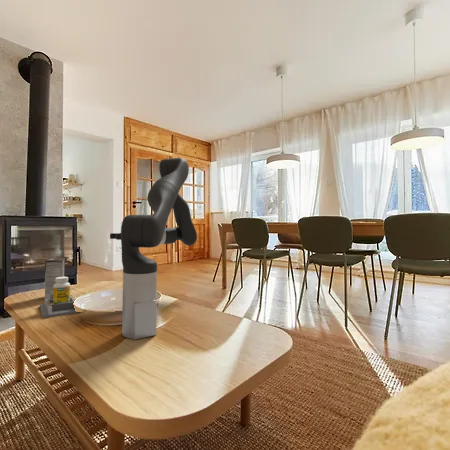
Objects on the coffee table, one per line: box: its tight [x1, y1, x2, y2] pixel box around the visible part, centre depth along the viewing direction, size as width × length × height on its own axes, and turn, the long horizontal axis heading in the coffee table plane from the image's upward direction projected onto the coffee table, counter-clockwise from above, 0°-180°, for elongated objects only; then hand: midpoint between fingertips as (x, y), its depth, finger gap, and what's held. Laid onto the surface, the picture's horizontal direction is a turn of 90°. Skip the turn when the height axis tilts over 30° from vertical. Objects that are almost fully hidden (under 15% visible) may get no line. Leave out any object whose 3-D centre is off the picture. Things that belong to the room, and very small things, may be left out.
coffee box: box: [44, 257, 66, 299], centre depth 117 cm, size 9×6×16 cm
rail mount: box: [39, 294, 77, 319], centre depth 101 cm, size 16×12×3 cm
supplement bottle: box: [53, 276, 71, 304], centre depth 101 cm, size 5×5×10 cm
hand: (113, 236), depth 109 cm, fingers open, 8 cm apart
